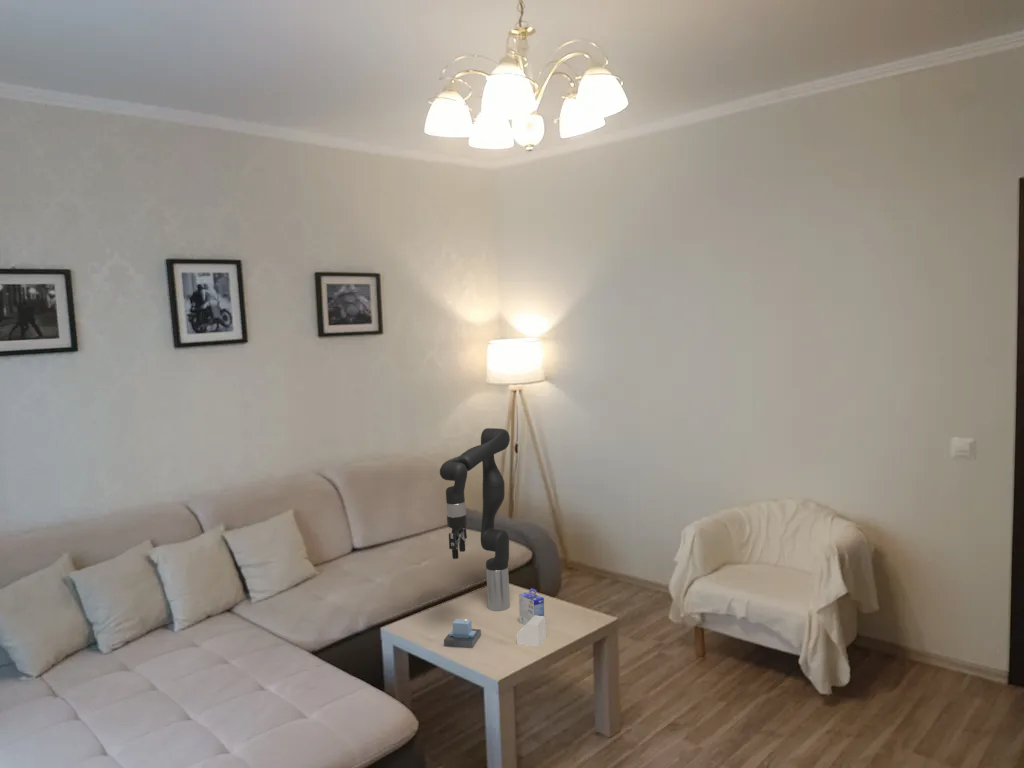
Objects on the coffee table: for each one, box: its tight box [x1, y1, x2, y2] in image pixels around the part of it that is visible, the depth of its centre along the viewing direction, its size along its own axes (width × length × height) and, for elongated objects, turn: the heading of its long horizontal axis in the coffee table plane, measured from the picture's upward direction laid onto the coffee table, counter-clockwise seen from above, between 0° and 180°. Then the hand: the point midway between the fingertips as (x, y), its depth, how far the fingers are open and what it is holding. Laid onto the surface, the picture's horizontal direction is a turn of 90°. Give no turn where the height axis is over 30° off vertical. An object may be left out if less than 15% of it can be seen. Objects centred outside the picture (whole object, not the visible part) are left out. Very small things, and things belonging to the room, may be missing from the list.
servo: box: [448, 618, 476, 638], centre depth 267 cm, size 4×10×8 cm, turn 75°
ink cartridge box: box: [518, 587, 545, 627], centre depth 278 cm, size 10×6×14 cm, turn 37°
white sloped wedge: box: [516, 615, 547, 648], centre depth 267 cm, size 8×15×8 cm, turn 158°
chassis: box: [443, 628, 482, 649], centre depth 267 cm, size 11×11×2 cm
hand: (459, 554), depth 274 cm, fingers open, 8 cm apart
